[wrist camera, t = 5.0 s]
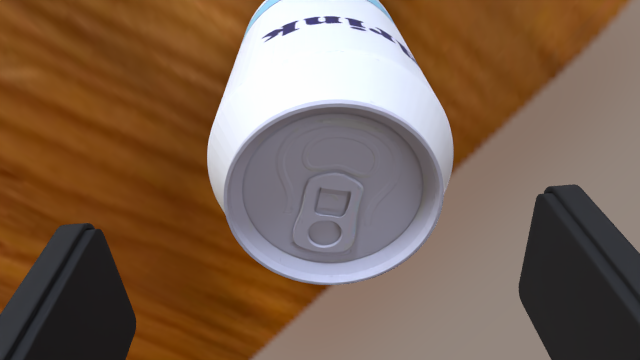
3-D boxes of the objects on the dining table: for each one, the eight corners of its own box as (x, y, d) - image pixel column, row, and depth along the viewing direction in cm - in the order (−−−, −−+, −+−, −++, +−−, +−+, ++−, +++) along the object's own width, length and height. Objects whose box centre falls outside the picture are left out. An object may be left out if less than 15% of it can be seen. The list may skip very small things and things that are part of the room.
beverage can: (413, -12, 21) (514, 99, 11) (376, 130, 25) (426, 313, 15) (252, -41, 20) (201, 49, 10) (238, 110, 24) (190, 288, 14)
